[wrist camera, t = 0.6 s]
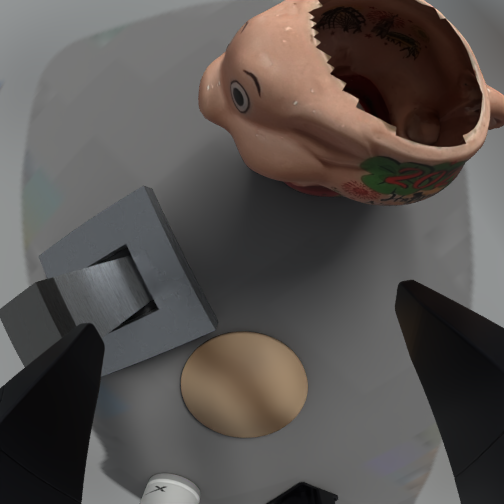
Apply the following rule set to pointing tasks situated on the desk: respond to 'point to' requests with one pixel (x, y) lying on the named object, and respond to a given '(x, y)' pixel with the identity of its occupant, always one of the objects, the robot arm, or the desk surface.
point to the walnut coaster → (244, 384)
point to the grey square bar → (73, 305)
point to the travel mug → (170, 490)
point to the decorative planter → (352, 98)
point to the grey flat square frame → (151, 269)
